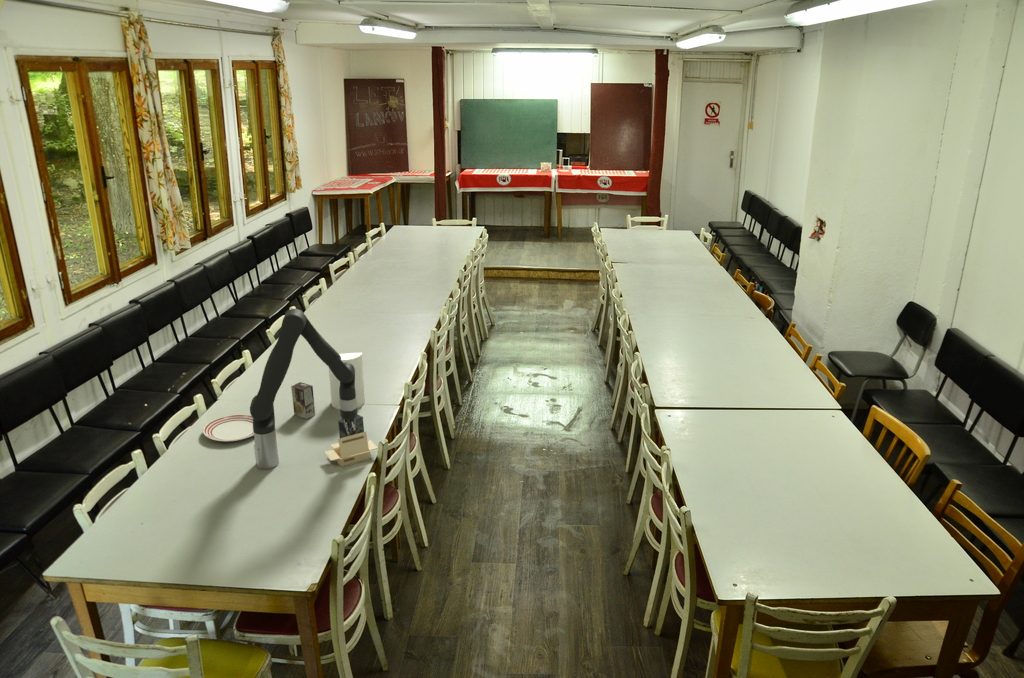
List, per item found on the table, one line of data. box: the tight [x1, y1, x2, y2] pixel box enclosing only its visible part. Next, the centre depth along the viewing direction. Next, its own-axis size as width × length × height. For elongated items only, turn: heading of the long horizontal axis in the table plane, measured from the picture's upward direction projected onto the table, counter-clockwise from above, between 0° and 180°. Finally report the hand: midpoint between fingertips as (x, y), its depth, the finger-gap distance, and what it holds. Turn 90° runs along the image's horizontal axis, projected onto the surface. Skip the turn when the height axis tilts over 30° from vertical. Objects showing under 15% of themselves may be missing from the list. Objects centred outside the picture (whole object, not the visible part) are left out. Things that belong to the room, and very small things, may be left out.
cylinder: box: [328, 352, 366, 411], centre depth 394 cm, size 17×17×28 cm
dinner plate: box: [202, 413, 254, 443], centre depth 367 cm, size 27×27×3 cm
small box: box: [337, 414, 365, 438], centre depth 363 cm, size 11×6×10 cm, turn 141°
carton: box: [323, 439, 379, 468], centre depth 348 cm, size 22×14×4 cm, turn 122°
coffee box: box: [290, 381, 316, 420], centre depth 383 cm, size 9×6×16 cm
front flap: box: [337, 431, 369, 458], centre depth 340 cm, size 13×1×9 cm, turn 122°
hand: (350, 440), depth 344 cm, fingers closed
